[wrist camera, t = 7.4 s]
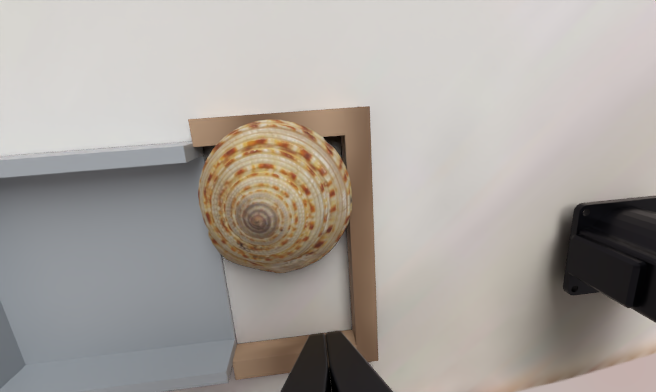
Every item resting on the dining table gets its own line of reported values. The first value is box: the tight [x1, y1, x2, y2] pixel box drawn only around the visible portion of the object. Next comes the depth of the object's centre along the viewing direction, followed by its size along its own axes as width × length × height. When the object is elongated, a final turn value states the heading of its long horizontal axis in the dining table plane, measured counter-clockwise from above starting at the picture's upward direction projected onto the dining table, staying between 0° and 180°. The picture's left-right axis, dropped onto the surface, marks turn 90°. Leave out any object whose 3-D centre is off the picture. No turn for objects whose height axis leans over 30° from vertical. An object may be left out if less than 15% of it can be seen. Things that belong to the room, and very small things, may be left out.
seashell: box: [198, 119, 352, 273], centre depth 17 cm, size 8×6×8 cm
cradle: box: [188, 106, 378, 380], centre depth 19 cm, size 9×16×2 cm, turn 4°
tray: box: [0, 141, 237, 392], centre depth 18 cm, size 14×14×3 cm
